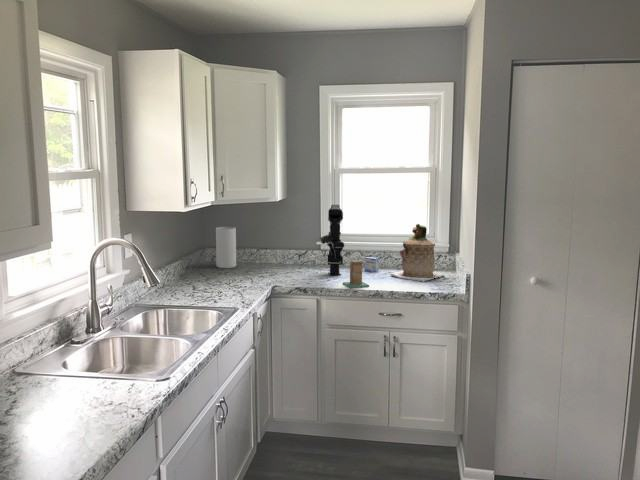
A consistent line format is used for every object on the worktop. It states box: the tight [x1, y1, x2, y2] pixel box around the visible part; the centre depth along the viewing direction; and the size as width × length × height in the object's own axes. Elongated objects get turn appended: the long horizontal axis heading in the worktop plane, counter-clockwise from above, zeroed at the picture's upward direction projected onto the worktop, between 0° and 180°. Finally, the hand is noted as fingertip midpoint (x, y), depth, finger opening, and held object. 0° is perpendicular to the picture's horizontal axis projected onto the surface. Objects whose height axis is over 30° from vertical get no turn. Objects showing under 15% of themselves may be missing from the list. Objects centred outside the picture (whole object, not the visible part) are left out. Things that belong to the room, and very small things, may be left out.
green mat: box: [342, 281, 370, 289], centre depth 301 cm, size 11×11×1 cm
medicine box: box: [364, 256, 380, 273], centre depth 340 cm, size 8×4×9 cm, turn 62°
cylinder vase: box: [215, 226, 237, 269], centre depth 350 cm, size 12×12×25 cm
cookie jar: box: [389, 223, 445, 283], centre depth 324 cm, size 25×25×32 cm
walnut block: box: [349, 259, 363, 285], centre depth 300 cm, size 5×5×12 cm
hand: (334, 257), depth 313 cm, fingers open, 9 cm apart
